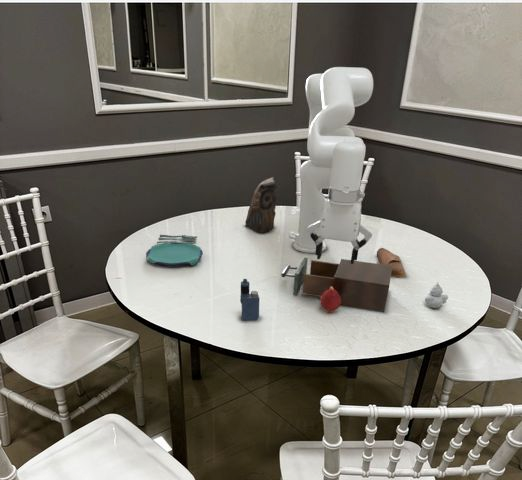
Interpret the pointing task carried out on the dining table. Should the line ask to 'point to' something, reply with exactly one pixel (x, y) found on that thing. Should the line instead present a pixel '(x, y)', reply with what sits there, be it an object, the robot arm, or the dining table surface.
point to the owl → (262, 207)
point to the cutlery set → (175, 251)
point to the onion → (330, 300)
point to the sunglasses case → (391, 262)
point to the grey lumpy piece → (436, 297)
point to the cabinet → (363, 284)
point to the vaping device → (249, 302)
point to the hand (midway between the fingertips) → (335, 259)
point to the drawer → (312, 277)
